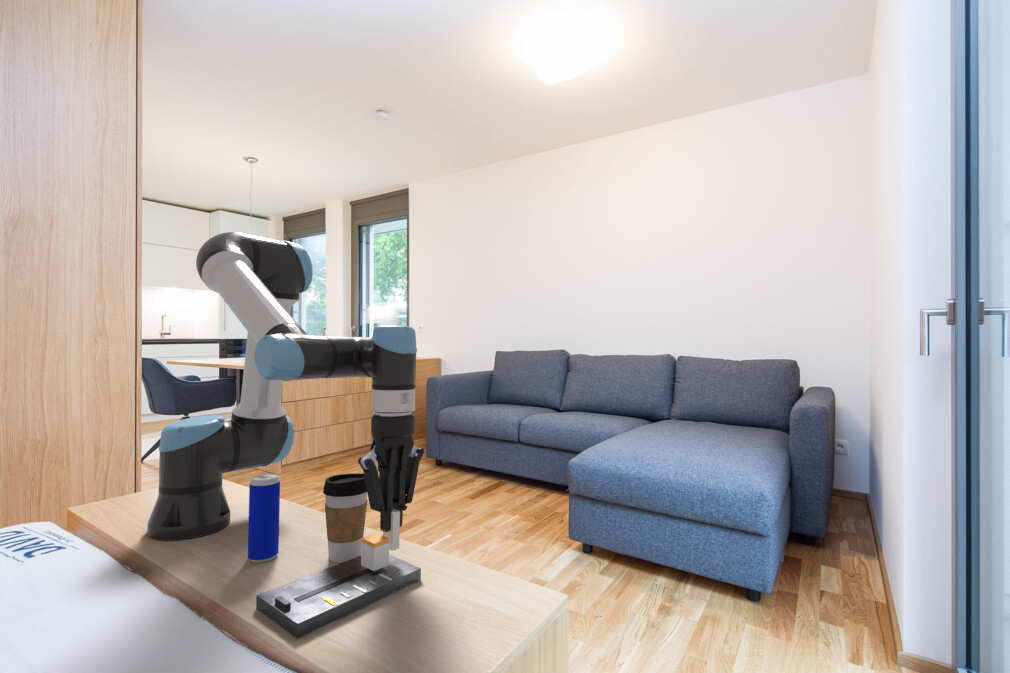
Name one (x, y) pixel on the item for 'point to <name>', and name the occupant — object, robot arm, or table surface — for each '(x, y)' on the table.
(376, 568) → the fader tab
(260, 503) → the beverage can
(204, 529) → the robot arm
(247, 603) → the table surface
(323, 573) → the panel
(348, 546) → the coffee cup
